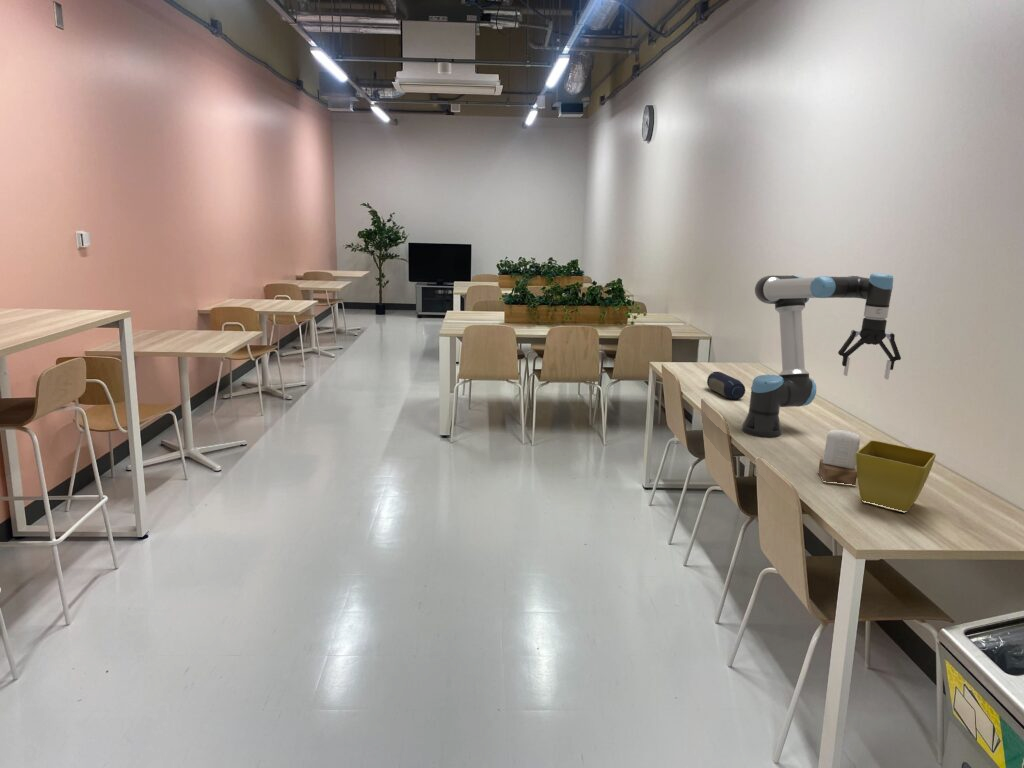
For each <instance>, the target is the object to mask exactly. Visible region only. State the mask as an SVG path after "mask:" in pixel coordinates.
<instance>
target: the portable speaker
mask: <svg viewBox="0 0 1024 768" xmlns="http://www.w3.org/2000/svg"><path fill="white" fill-rule="evenodd" d="M706 385H707V387H708V388H709V389H710V390H711V391H713V392H716V393H717V394H719V395H721V396H724V397H725V398H727V399H728V400H731V399H732V401H733V400H735V401H736V400H739V399H741V398H743V397H744V395H745V394H746V387H745V385H744V384H743V382H742V381H741V380H739V379H737V378H734V377H732V376H730V375H728V374H725V373H724V372H722V371H713V372H711V373H710V374H709V375H708V376H707V380H706Z"/></svg>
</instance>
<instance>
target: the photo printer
mask: <svg viewBox="0 0 1024 768" xmlns="http://www.w3.org/2000/svg"><path fill="white" fill-rule="evenodd" d="M860 444H861V438H860V435H858V434H857V433H854V432H852V431H849V430H843V429H832V430H829V431H828V434H827V436H826V442H825V447H824V454H823V463H824V464H829V465H834V466H839V467H844V468H849V469H856V452H857V451H858V450H860Z"/></svg>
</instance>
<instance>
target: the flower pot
mask: <svg viewBox="0 0 1024 768" xmlns="http://www.w3.org/2000/svg"><path fill="white" fill-rule="evenodd" d="M936 457H937V454H936V453H935V452H932V451H927V450H923V449H917V448H912V447H908V446H904V445H898V444H893V443H888V442H884V441H880V440H874V439H873V440H872V439H871V440H869V441H868V442H866V444H864V445H862V447H861V448H859V450H858V451H857V452H856V468H855V469H856V471H857V479H856V481H857V485H858V490H859V491H858V492H859V495H860V501H861V500H863V501H866V502H870V503H875V504H878V505H883V506H886V507H890V508H894V509H898V510H902V511H908V512H909V510H910V509H911V508H912V507H913V505H914V504H915V503H914V502H916V501H917V499H918V498H919V496H920V493H921V492H922V490H923V489H924V486H925V484H926V482H927V480H928V478H929V475H930V473H931V470H932V468H933V465H934V461H935V459H936ZM911 506H912V507H911ZM910 507H911V508H910Z"/></svg>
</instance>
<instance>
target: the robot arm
mask: <svg viewBox="0 0 1024 768" xmlns="http://www.w3.org/2000/svg"><path fill="white" fill-rule="evenodd" d="M893 287H894V276H893V275H892V274H887V273H871V274H870V275H869V277H863V276H858V275H848V276H828V275H826V276H825V275H821V276H815V277H803V276H799V275H794V274H793V275H767V276H763V277H761V278H760V279H759V280H758V281H757V282H756V284H755V287H754V293H755V296H756V298H757V299H758V300H759V302H761V303H764V304H767V305H771V304H772V305H774V310H775V311H776V312H777V313H778V314H779V329H780V330H779V331H780V347H781V348H780V349H781V365H782V370H781V372H780V373H779V374H761V375H758V376H756V377H754V378H753V379H752V384H751V387H750V389H751V390H750V391H751V392H750V399H749V400H750V401H749V406H748V407H749V409H748V412H747V415H746V417H745V419H744V421H743V423H742V427H741V430H742V431H743V432H744V433H746V434H748V435H752V436H754V437H755V436H756V437H760V438H761V437H762V438H776V437H779V436H781V435H782V426H781V422H780V415H779V414H780V408H792V407H798V408H800V407H804V406H808V405H809V404H811V403H812V402H813V400H814V399H815V398H816V395H817V385H816V384H817V383H816V382H815V381H814V379H813V378H810V373H809V371H807V370H806V368H805V367H806V366H805V351H804V336H803V335H804V333H803V332H804V331H803V318H802V317H803V316H802V315H803V313H802V311H803V310H804V309H805V308H806V303H807V302H808V301H810V299H828V298H829V299H837V298H839V299H841V298H842V299H847V298H848V299H850V298H851V299H862V300H865V305H864V310H863V318H862V325H861V329H860V330H859V331H858V330H855V329H851V331H850V335H849V336H848V338H847V339H846V341H845V342H844V343H843V345H842V346H841V348H840V349H839V350H838V352H837V354H838V355H839V356H841V357H842V363H841V365H842V366H843V367H844V368H843V369H844V370H843V376H844V377H848V373H849V368H850V367H849V366H850V359H851V358H850V356H851V355H852V354H853V353H854V352H855V351H857V350H858V349H859V348H860V347H861V346H862V345H865V344H866V345H874V346H877V345H879V346H880V348H881V350H883V353H885V355H886V356H887V357H888V359H887V360H886V366H885V371H884V375H883V377H884V379H885V380H889V378H890V373H891V371H893V370H894V366H895V362H896V361H901V360H902V357H901V355H900V354H901V353H900V351H899V349H898V346H897V344H896V340H895V335H896V334H894V333H893V332H888V333H886V327H887V322H888V321H887V318H888V316H889V311H890V309H889V308H890V305H891V304H890V303H891V298H892V297H891V296H892V292H893ZM858 336H859V337H860V339H859V340H857V341H856V342H855V343H854V344H853V345H852V346H851V344H852V343H853V342H854V340H855V338H857V337H858ZM885 338H886V339H888V341H889V344H890V347H891V349H892V352H893V354H894V355H893V354H892V353H891V351H890V350H889V348H888V347H887V345H886V344H885V343H884V342H883V340H884V339H885ZM850 346H851V347H850ZM849 347H850V348H849Z"/></svg>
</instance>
